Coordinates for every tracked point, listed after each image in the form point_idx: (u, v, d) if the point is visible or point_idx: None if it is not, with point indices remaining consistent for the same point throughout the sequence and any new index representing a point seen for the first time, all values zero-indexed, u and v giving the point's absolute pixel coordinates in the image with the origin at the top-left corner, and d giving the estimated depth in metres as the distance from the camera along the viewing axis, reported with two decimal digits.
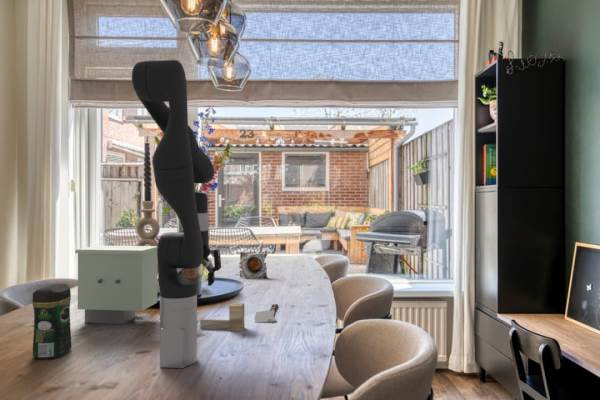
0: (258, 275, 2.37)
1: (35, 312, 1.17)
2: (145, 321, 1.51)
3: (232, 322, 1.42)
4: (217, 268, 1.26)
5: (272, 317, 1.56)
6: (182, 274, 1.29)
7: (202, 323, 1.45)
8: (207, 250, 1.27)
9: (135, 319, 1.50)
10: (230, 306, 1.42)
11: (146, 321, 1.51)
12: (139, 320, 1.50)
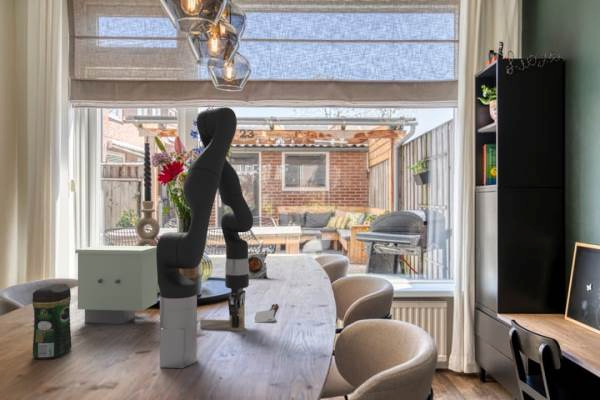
0: (258, 275, 2.37)
1: (35, 312, 1.17)
2: (145, 321, 1.51)
3: None
4: None
5: (272, 317, 1.56)
6: None
7: (202, 323, 1.45)
8: None
9: (135, 319, 1.50)
10: None
11: (146, 321, 1.51)
12: (139, 320, 1.50)
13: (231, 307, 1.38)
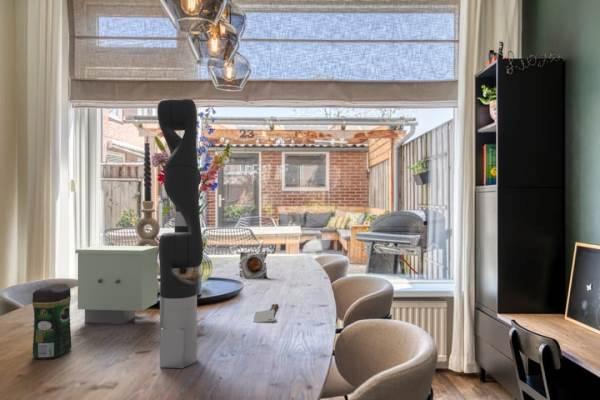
0: (258, 275, 2.37)
1: (35, 312, 1.17)
2: (145, 321, 1.51)
3: None
4: None
5: (272, 317, 1.56)
6: None
7: None
8: None
9: (135, 319, 1.50)
10: None
11: (146, 321, 1.51)
12: (139, 320, 1.50)
13: None
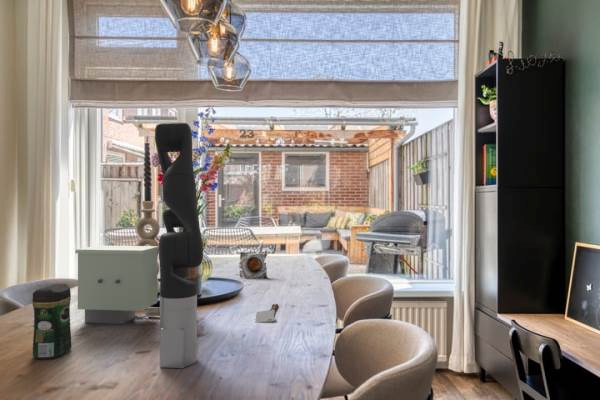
0: (258, 275, 2.37)
1: (35, 312, 1.17)
2: (145, 321, 1.51)
3: None
4: None
5: (272, 317, 1.56)
6: None
7: (147, 311, 1.59)
8: None
9: (135, 319, 1.50)
10: None
11: (146, 321, 1.51)
12: (139, 320, 1.50)
13: None
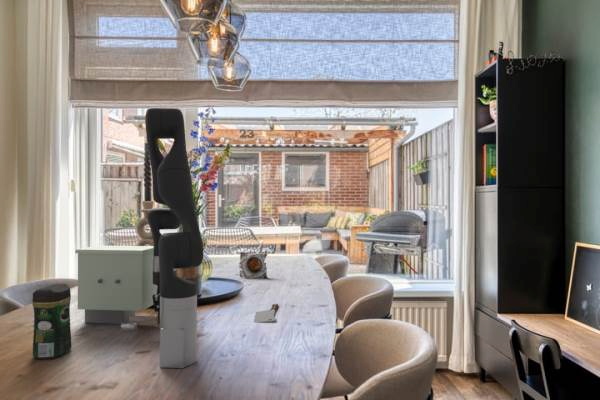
0: (258, 275, 2.37)
1: (35, 312, 1.17)
2: (133, 328, 1.43)
3: None
4: None
5: (272, 317, 1.56)
6: None
7: (131, 320, 1.47)
8: None
9: (122, 325, 1.42)
10: None
11: (134, 328, 1.43)
12: (126, 327, 1.42)
13: (156, 303, 1.40)
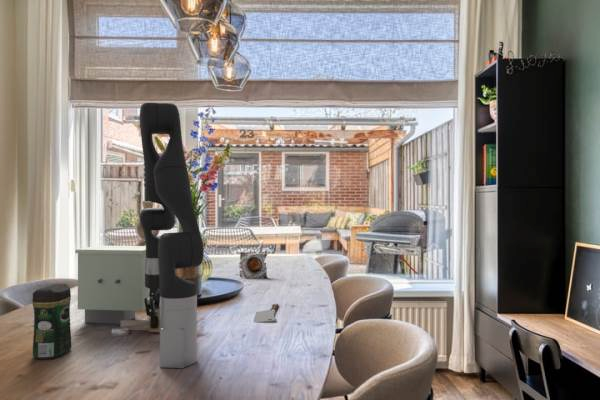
0: (258, 275, 2.37)
1: (35, 312, 1.17)
2: (124, 333, 1.37)
3: None
4: None
5: (272, 317, 1.56)
6: None
7: (122, 324, 1.41)
8: None
9: (113, 331, 1.37)
10: None
11: (125, 333, 1.38)
12: (118, 332, 1.36)
13: (148, 307, 1.35)
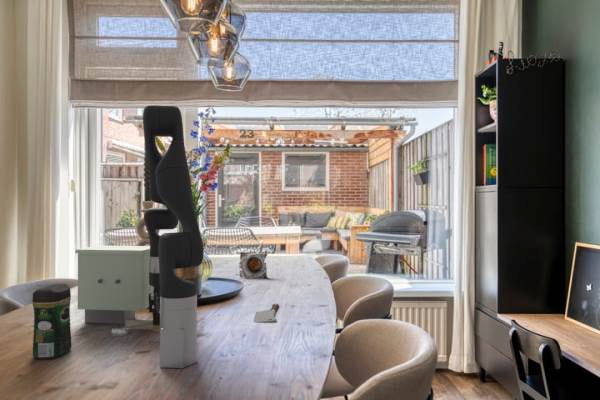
0: (258, 275, 2.37)
1: (35, 312, 1.17)
2: (124, 333, 1.37)
3: None
4: None
5: (272, 317, 1.56)
6: None
7: (127, 323, 1.44)
8: None
9: (113, 331, 1.37)
10: None
11: (125, 333, 1.38)
12: (117, 332, 1.36)
13: (151, 303, 1.37)
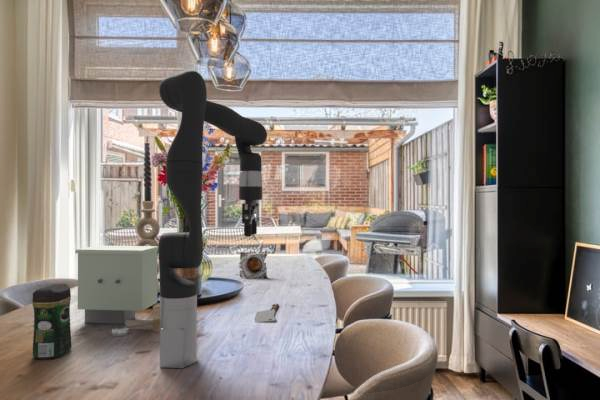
0: (258, 275, 2.37)
1: (35, 312, 1.17)
2: (124, 333, 1.37)
3: (155, 323, 1.42)
4: (258, 218, 1.52)
5: (272, 317, 1.56)
6: None
7: (127, 323, 1.44)
8: None
9: (113, 331, 1.37)
10: (154, 306, 1.42)
11: (125, 333, 1.38)
12: (117, 332, 1.36)
13: (244, 212, 1.39)
